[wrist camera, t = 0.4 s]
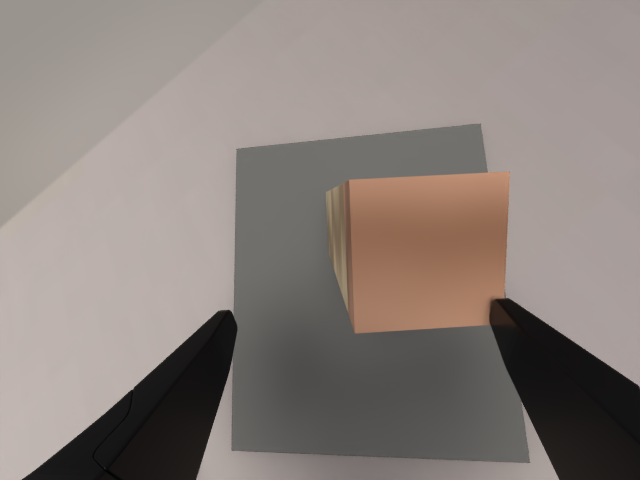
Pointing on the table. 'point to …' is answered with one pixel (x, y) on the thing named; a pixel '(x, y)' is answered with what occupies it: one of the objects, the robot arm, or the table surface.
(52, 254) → the table surface
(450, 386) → the rubber mat
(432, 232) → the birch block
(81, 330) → the table surface
